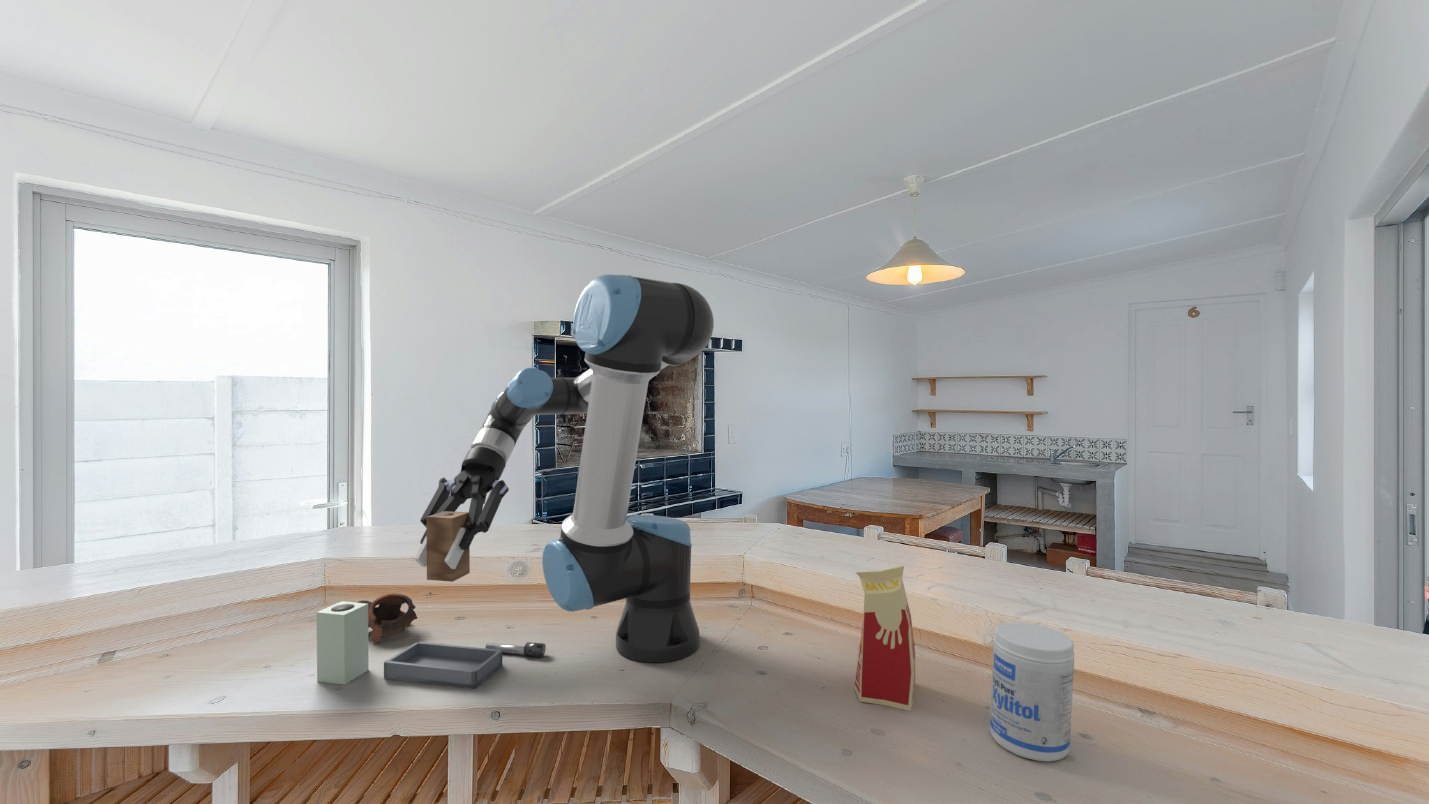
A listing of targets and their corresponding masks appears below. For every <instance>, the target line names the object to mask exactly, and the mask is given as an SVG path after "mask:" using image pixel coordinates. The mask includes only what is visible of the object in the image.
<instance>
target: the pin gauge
mask: <svg viewBox="0 0 1429 804" xmlns="http://www.w3.org/2000/svg"><path fill="white" fill-rule="evenodd" d="M484 648H486V649H496V650H503V654H508V655H510V654H511V655H518V656H519V655H520V656H527V657H535V658H536V657H537V658H543V657H544V656H545V653H546V649H547V647H546V643H542V642H533V641H527V642H526V643H525V644H524V646H523V645H513V644H503V643H493V642H487V643H486V645H485V647H484Z"/></svg>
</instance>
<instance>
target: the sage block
mask: <svg viewBox="0 0 1429 804" xmlns="http://www.w3.org/2000/svg"><path fill="white" fill-rule="evenodd" d="M369 668H370V667H369V628H368V604H366V603H357V602H353V601H345V600H344V601H342V600H341V601H340V602H339V601H338V602H337V603H335V604H332V605H329V606H328V607H325V608H324V609H321V610H319V611H316V682H318V683H319V682H320V683H326V682H327V684H334V685H335V684H336V685H343V684H345V685H347V684H349V682H352V681H353V680H355V679H357V678H358V677H360V676H361V675H363V674H364V672H365V673H366V672H368V671H369ZM367 670H368V671H367ZM359 675H360V676H359ZM351 680H352V681H351Z"/></svg>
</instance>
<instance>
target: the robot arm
mask: <svg viewBox="0 0 1429 804" xmlns="http://www.w3.org/2000/svg"><path fill="white" fill-rule="evenodd" d="M572 323H573V324H572V326H573V329H572V330H573V331H574V332H575V333H574V341H575V342H576V344H577V346H578V347H579V349H581V351H583V352H585V353H584V362H585V363H586V365H587V366H588V367H589V369H587V370H586V371H584V372H583V373H581V374H579V375H578V376H576V377H551V376H550V375H549V374H548V373H547V372H546V371H544V370H540V369H538V368H537V367H525V368H523V369H521V370H520V371H518V373H517V374H516V375H515V376H514V377H512V378H511V379H510V381H509V382H508V384H507V386H506V388H505V389H504V391H502V392H500V393H499V394H498V396H497V397H496V398H495V400H494V402H492V405H491V407H490V410H489V412H488V414H487V416H486V417H485V420H484V421H483V424H482V426H481V427H480V430H479V431H478V432H477V435H476V436H475V438H474V440H473V442H472V443H471V446H470V448H469V450H468V451H467V454H466V455H465V456H464V459H463V460H462V463H461V468H460V471H459V473H457V474H456V475H455V476H454V478H449V479H447V478H446V477H441V478H440V479H439V480H438V487H437V488H436V489H437V490H436V491H435V493H434V494H433V497H432V498H431V500H430V502H429V503H428V505H427V506H426V509H425V511H424V512H423V514H422V516H421V517H420V522H421V524H422V525H423V526H424V527H425V528H426V517H428V516H431V515H434V514H437V513H440V512H443V511H453V512H457V510H458V509H459V507H460V506H461V505H464V504H465V503H466V501H467V500H469V499H471V500H470V503H469V504H470V505H469V509H468V512H469V513H468V518H467V523H466V524H465V523H464V525H465V526H466V529H465V528H460V530H459V532H458V534H457V536H456V538H455V540H454V542H453V544H452V546H451V548H450V550H449V552H448V554H447V556H446V558H445V560H444V561H445V562H446V563H447V564H448V566H449V567H450V568H451V569H456V566H457V564H458V562H459V560H460V558H461V556H462V554H463V552H464V550H467V549H468V548H469V547H470V546H471V544H472V542H473V540H474V538H475V536H476V535H477V534H478V533H484V534H485V533H487V532H488V531H489V529H490V528H491V525H492V522H493V520H494V519H495V515H496V513H497V511H498V509H499V507H500V504H501V502H502V500H503V498H504V497H505V496H506V495H507V493H509V490H510V489H509V487H508V485H507V484H506V482H505V481H504V480H503V479H501V477H502V474H503V472H504V470H505V469H506V465H507V463H508V461H509V459H510V457H511V456H512V453H513V451H514V449H515V447H516V444H517V442H518V440H519V438H520V436H521V434H522V432H523V430H524V429H525V427H526V426H527V425H528V423H530V421H531V420H532V419H533V418H534V416H542V415H543V416H546V415H549V416H550V415H586V420H585V427H584V433H583V441H582V448H581V455H580V462H579V463H580V464H579V469H578V476H577V477H578V478H577V483H576V491H575V499H574V505H573V510H572V511H573V512H572V514H570V515H569V516H567V517H566V518H565V519H564V520H563V521H562V522H561V529H560V534H559V538H558V539H555V538H553V539H552V540H551V541H549V542H547V543H546V545H544V549H543V551H542V559H541V560H542V562H541V564H542V571H543V576H544V582H545V583H546V586H547V589H548V592H549V593H550V595H551V597H552V599H553V601H554V602H555V604H557V606H558V607H560V608H561V609H562V610H564V611H566V612H570V613H573V612H578V611H583V610H589V611H590V610H591V609H593V608H596V607H598V606H602V605H603V606H604V605H606V604H609V603H613V602H616V601H621V600H625V605H624V608H623V610H622V614H621V617H620V620H619V621H618V622H619V623H618V627H617V629H616V633H615V649H616V652H618V654H620V655H621V656H623V657H625V658H628V659H630V660H633V661H637V662H641V663H642V662H643V663H644V662H645V663H665V662H673V661H676V660H680V659H684V658H686V657H688V656H690V655H693V654H694V653H695V652H696V651H697V650H698V649H699V647H700V628H699V626H698V623H697V619H696V616H695V612H694V610H693V606H692V603H691V602H692V601H691V566H692V565H691V563H692V562H691V559H692V545H693V544H692V542H691V541H692V540H691V528H690V526H689V524H688V523H687V522H685V521H684V520H681V519H679V518H675V517H670V516H662V515H653V514H635V515H630V516H628V511H629V505H630V497H631V493H632V492H631V491H632V488H633V487H632V486H633V479H634V473H635V469H636V468H635V466H636V461H637V456H638V455H637V454H638V449H639V444H640V438H641V437H640V435H641V430H642V425H643V418H644V412H645V411H644V410H645V406H646V399H647V395H648V394H647V393H648V386H649V381H650V380H651V379H653V378H655V376H657V375H658V374H659V373H660V372H661V370H664V368H666V367H668V366H671V367H677V366H678V367H679V366H680V365H683V364H685V363H687V362H689V361H690V360H692V359H693V358H695V357H696V356H698V355H699V354H700V353H702V352H703V351H704V350H705V349H706V347H707V346H708V344H709V343H710V340H711V338H712V337H713V332H714V328H715V327H714V323H715V322H714V315H713V311H712V308H711V305H710V303H708V301H707V299H706V298H705V296H704V295H702V294H701V293H700V292H699V291H698V290H696V289H695V288H694V287H692V286H689V285H687V284H684V283H678V282H668V281H664V280H663V281H662V280H656V279H650V278H644V277H638V276H632V275H629V274H628V275H625V274H601V275H599V276H597V277H595V278H594V279H591V281H590V282H589V284H587V285H586V286H585V288H584V289H583V290H582V292H581V294H580V295H579V298H578V300H577V303H576V306H575V310H574V314H573V322H572ZM489 492H490V493H489ZM487 495H488V497H487ZM419 541H420V542H419V544H420V547H419V549H418V551H417V553H416V555H415V557H414V561H415V562H416V563H418V564H419V566H420V567H423V568H427V536H426V530H425V532H424V533H423V535H422V536H421V539H420V540H419Z"/></svg>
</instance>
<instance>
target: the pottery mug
mask: <svg viewBox="0 0 1429 804" xmlns="http://www.w3.org/2000/svg"><path fill="white" fill-rule="evenodd" d="M356 603H366V604H368V629H369V628H371V629H372V630H371V632H370V633H371V634H370V636H369V638H370V639H369V640H370V641H371V642H373V643H376V644H379V642H380V641H382V640H381V639H385V638H389V637H390V636H391V637H392V636H393V635H396V634H398V633H400V632H403V631H405V629H406V628H408V627H409V626H410V625H411V624H412V622H413V621H414V620H417V619H418V616H417V614H416V612H415V609H416V605H415V604H414V603H413V601H412V599H411V598H410V597H408V596H407V595H405V594H402V593H387V594H383V595H380V596H379V597H376V599H374V600H373V601H369V600H359V601H357V602H356ZM405 603H406V604H407V607H408V608H407V611H403V610H401V608H402V606H403V604H405Z"/></svg>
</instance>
